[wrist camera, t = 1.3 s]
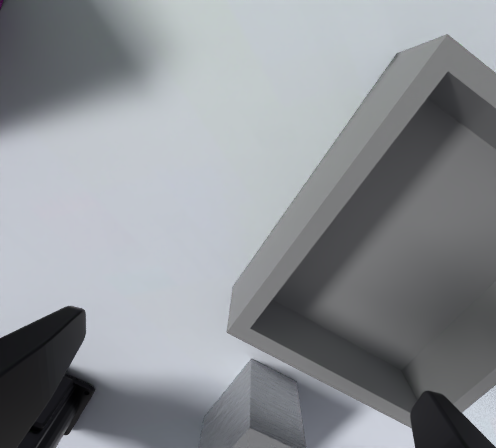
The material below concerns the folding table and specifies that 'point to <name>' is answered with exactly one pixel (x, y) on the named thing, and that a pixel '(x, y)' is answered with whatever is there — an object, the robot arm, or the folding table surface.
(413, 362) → the open box
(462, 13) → the folding table surface
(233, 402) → the grey bevelled block
